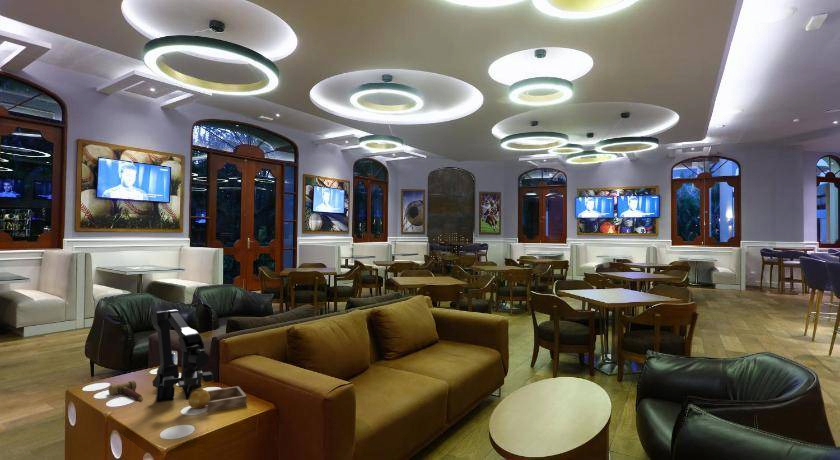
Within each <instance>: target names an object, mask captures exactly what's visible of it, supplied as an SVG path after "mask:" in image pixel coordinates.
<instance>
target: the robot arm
mask: <svg viewBox="0 0 840 460" xmlns="http://www.w3.org/2000/svg"><path fill="white" fill-rule="evenodd" d="M150 320H151V322H152V323H151V324H152V327H153V328H154V330H155V331H156V332H157V339H158V340H157V341H158V348H159V349H158V351H159V353H158V354H159V363H160V364H159V366H158V368H157V370H156V375H155V376H154V377H155V378H154V379H153V380H152V387H154V388H155V389H156V396H155V400H156V402H157V403H158V402H159V403H161V402H166V401H171V400H174V397H175V389H176V388H175V386H174V385H178V387H179V388H182V390H183V392H184V397H185V400H186V401H189V397H190V395H191V394H192V393H193V390H194V389H193V388H194V386H195V385H198V382H197V381H198V380H201V381H202V380H203V382H204V383H209V382H213V381H214V374H213V373H212V372H211V371H205V372H203V370H202V371H197V370H196V366H198V367H202V368H203V367H206V366H207V365H208V363H209V361H210V357H209V355H208V353H205V352H206V350H205V343H204V341H203V339H202V337H201V335H200V333H199V332H198V331H197V330H196V329H193V328H191V327H190V326H189V325H188V324H187V322H186V321H185V320H184V318H183V317H182V316H181V314H180V311H179V310H177V309H168V310H163V311H162V310H160V311H155V312H153V314H152V315H151V317H150ZM171 327H172V328H173V329H174V331H175V332H176V334H177V335H178V340H177V341H178V342H179V345H180V347H181V348H180V352H181V368H180V370H181V371H180V372H179V365H178V363H177V364H176V365H175V363H174V362H173V359H172V351H173V349H172V340H171V339H172V338H171ZM192 346H194V347H192ZM187 385H188V389H187Z"/></svg>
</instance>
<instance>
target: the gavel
mask: <svg viewBox="0 0 840 460" xmlns="http://www.w3.org/2000/svg"><path fill="white" fill-rule="evenodd" d="M136 389H137V382H136V381H135V380H130V381H128V382H123V383H120V384H112V385H109V387H108V394H109V395H110V396H115V395H117V394H123V393H124V394H126V395H127V396H129V397H131V398H132V399H134V400H136V401H143V400H144V398H143V396H142V394H140V393H138V392H137V391H136Z"/></svg>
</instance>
